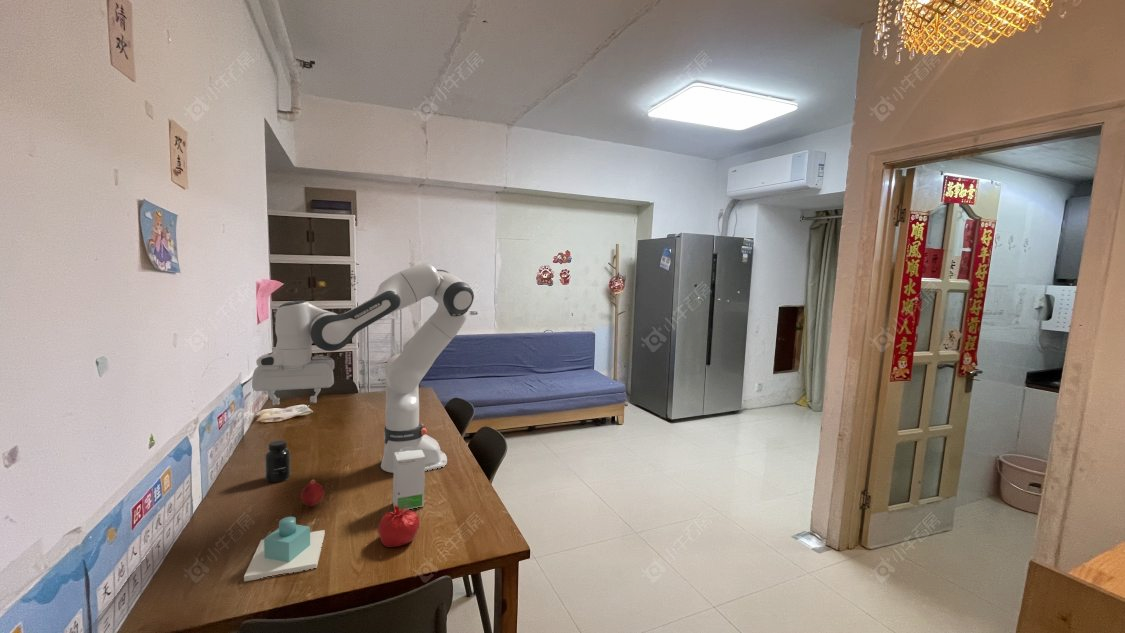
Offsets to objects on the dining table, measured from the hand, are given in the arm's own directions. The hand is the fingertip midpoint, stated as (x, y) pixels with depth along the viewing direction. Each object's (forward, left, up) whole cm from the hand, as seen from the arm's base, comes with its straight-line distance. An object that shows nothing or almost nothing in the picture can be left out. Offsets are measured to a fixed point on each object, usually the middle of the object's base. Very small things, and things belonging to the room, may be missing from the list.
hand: (295, 403), depth 129 cm
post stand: (-3, +29, -29) cm, 41 cm away
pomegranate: (-28, +30, -29) cm, 50 cm away
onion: (-5, +6, -29) cm, 30 cm away
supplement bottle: (+8, -16, -29) cm, 34 cm away
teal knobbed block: (-3, +29, -28) cm, 40 cm away
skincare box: (-31, +13, -29) cm, 45 cm away
